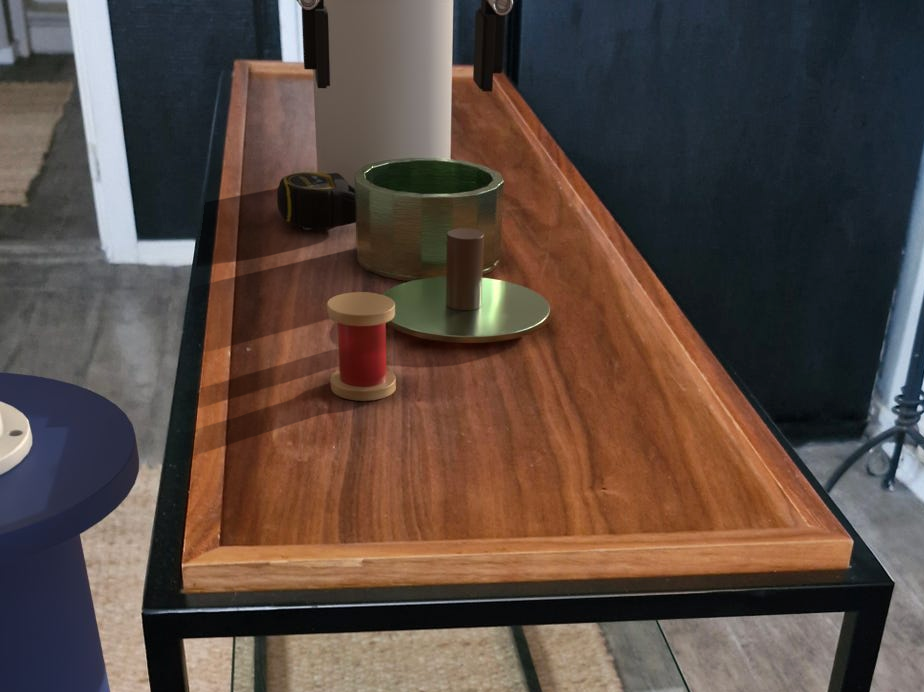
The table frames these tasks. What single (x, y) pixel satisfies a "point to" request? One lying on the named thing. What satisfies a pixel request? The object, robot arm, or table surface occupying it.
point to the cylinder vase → (385, 84)
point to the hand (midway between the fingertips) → (403, 85)
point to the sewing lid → (466, 300)
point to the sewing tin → (424, 214)
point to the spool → (362, 345)
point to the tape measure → (316, 200)
